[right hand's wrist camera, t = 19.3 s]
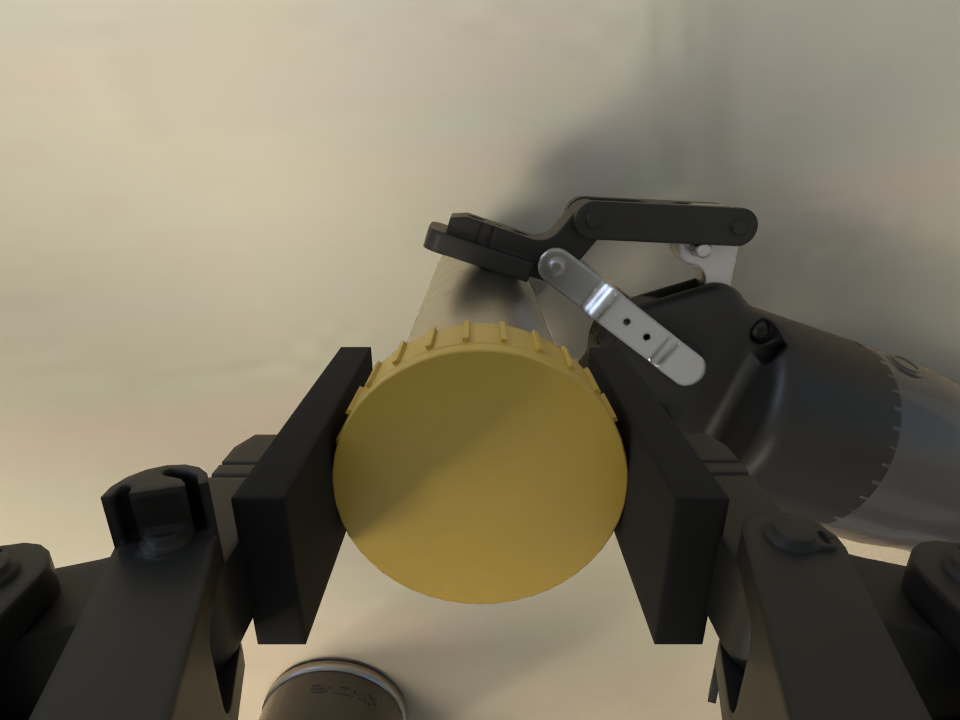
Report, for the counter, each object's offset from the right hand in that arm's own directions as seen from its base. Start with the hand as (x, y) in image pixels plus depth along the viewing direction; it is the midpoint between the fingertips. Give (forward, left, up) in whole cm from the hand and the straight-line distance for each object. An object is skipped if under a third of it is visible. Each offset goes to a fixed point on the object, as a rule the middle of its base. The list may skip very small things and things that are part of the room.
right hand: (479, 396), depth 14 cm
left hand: (-1, +2, -6) cm, 7 cm away
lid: (0, 0, +4) cm, 4 cm away
